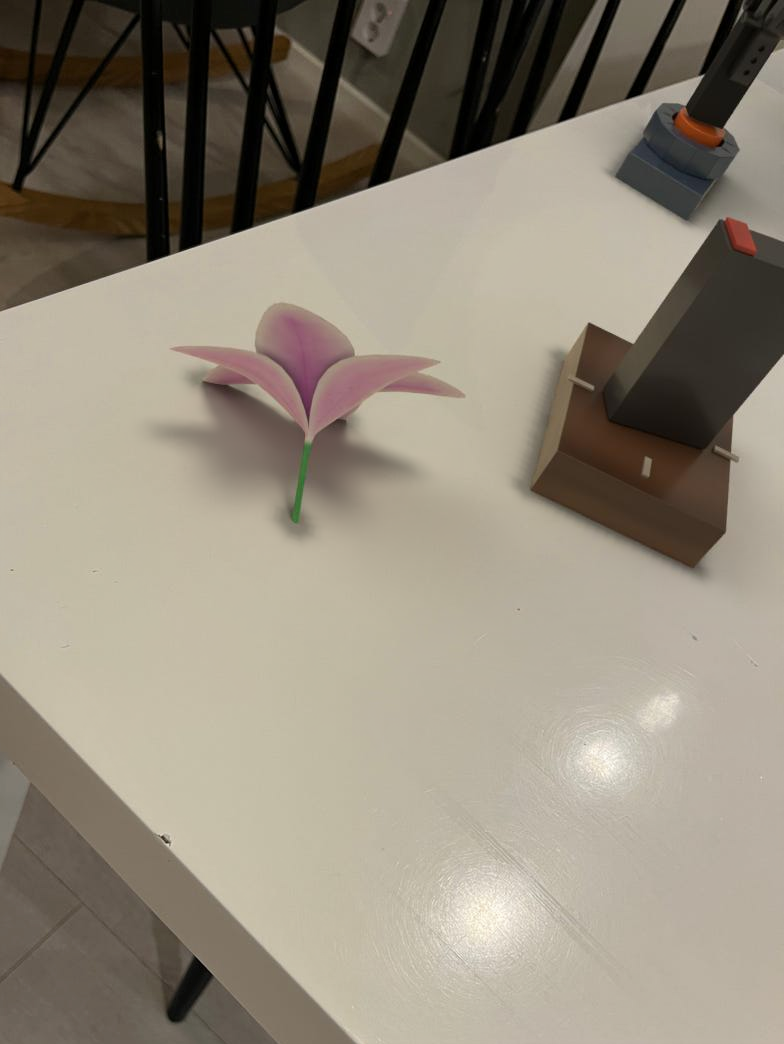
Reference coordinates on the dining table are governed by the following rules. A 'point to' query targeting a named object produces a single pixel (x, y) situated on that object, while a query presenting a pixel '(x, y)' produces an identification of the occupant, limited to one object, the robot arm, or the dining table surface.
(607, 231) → the dining table surface
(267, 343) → the lily
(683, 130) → the button
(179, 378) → the dining table surface
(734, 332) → the open box
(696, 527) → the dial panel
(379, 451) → the dining table surface
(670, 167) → the button box
